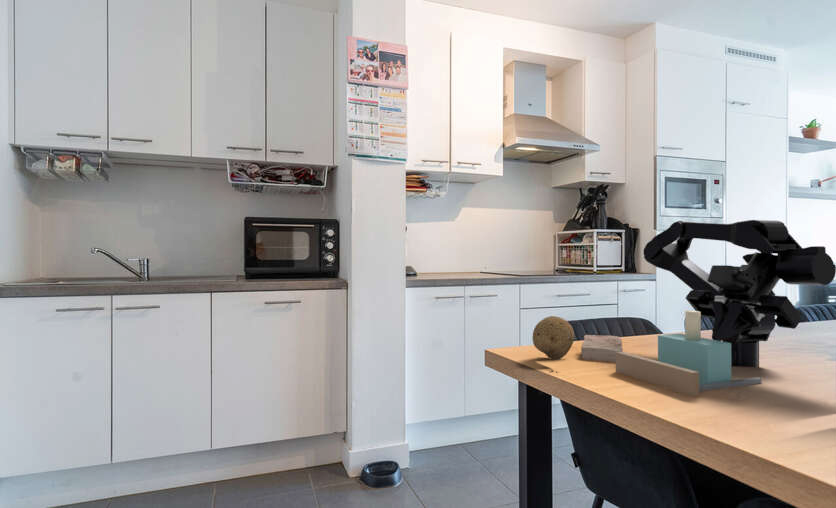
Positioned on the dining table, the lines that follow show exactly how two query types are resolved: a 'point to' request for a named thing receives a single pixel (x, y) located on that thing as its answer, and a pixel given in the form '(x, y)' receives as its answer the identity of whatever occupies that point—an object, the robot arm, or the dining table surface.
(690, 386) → the track
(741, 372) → the dining table surface
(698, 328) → the dowel block
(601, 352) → the brick
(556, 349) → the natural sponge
